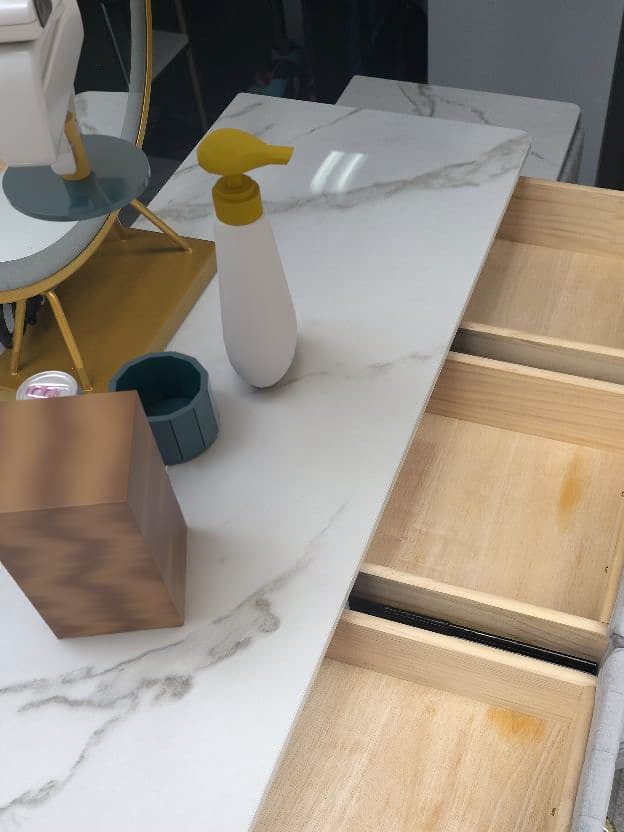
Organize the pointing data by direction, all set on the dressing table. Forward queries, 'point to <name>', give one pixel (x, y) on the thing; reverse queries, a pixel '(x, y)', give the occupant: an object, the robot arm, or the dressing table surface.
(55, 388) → the beverage can
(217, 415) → the pot
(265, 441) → the dressing table surface
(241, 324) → the soap bottle
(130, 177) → the lid
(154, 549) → the stand
